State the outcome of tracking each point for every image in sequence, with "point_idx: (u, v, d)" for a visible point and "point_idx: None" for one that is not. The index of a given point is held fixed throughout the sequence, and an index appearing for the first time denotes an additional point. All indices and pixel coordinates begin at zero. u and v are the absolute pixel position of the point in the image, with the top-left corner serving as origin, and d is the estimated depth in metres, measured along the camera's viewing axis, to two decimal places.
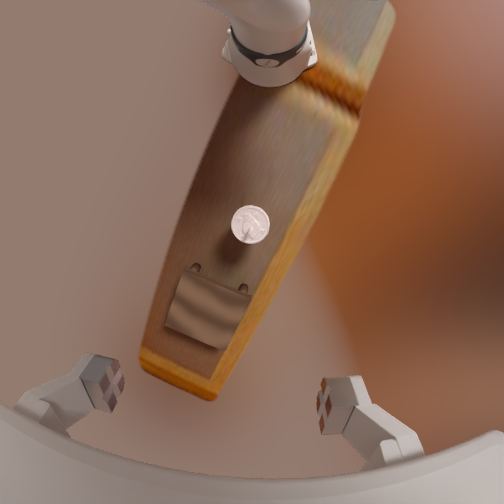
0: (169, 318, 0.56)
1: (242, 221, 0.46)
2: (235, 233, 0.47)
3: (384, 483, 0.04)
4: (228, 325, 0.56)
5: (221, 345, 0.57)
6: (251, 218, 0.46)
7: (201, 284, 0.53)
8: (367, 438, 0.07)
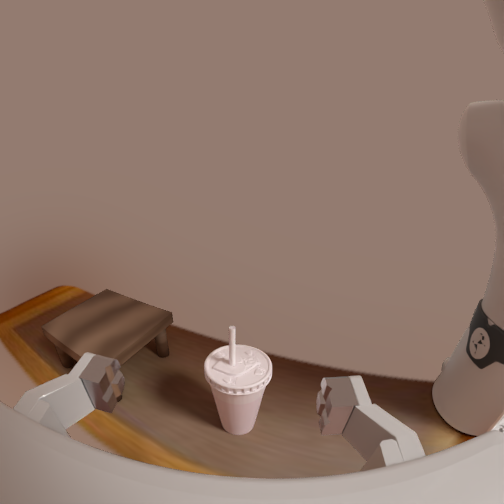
0: (113, 294, 0.41)
1: (245, 356, 0.26)
2: (224, 347, 0.27)
3: (384, 483, 0.04)
4: (73, 338, 0.29)
5: (50, 325, 0.30)
6: (251, 364, 0.24)
7: (145, 324, 0.34)
8: (367, 438, 0.07)
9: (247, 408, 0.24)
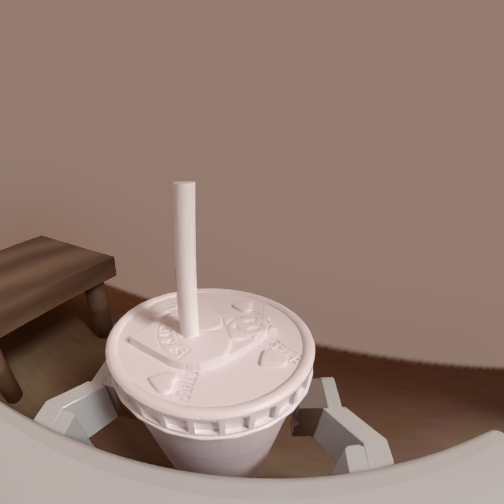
0: (45, 239, 0.24)
1: (232, 313, 0.09)
2: None
3: (384, 483, 0.04)
4: None
5: None
6: (249, 335, 0.08)
7: (65, 271, 0.17)
8: (336, 442, 0.07)
9: (238, 465, 0.07)
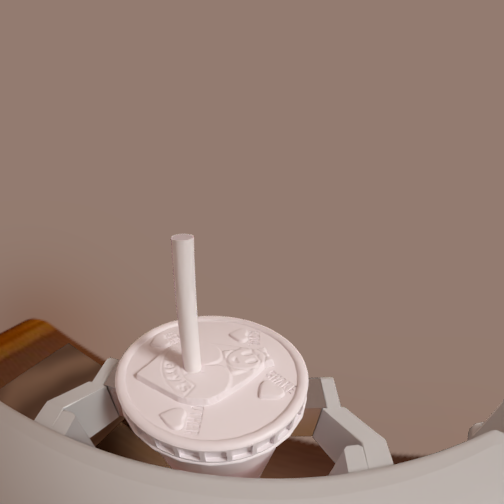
0: (74, 352, 0.29)
1: (229, 344, 0.10)
2: (177, 323, 0.11)
3: (384, 483, 0.04)
4: None
5: (3, 393, 0.19)
6: (248, 368, 0.08)
7: None
8: (335, 442, 0.07)
9: None
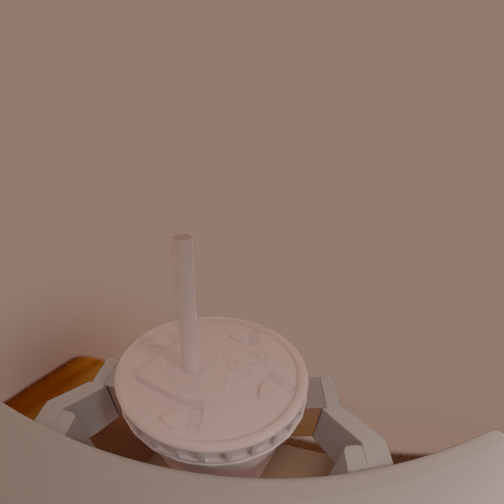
0: None
1: (229, 344, 0.10)
2: (177, 324, 0.11)
3: (384, 483, 0.04)
4: None
5: None
6: (248, 369, 0.08)
7: None
8: (335, 442, 0.07)
9: None
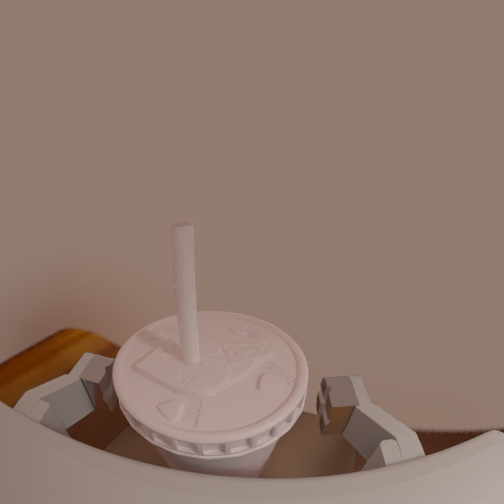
0: None
1: (229, 337, 0.10)
2: (176, 318, 0.11)
3: (384, 483, 0.04)
4: None
5: None
6: (247, 361, 0.08)
7: (332, 470, 0.12)
8: (367, 438, 0.07)
9: (240, 475, 0.08)
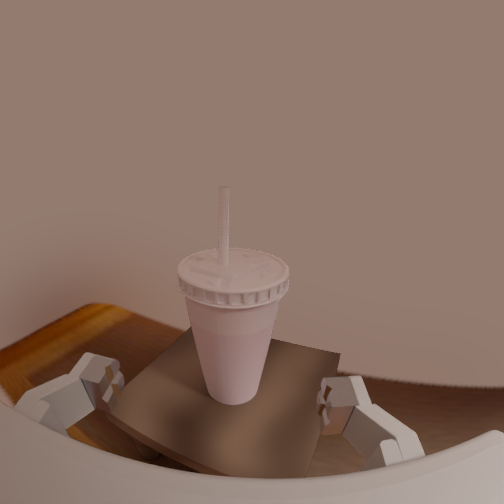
0: None
1: (243, 257, 0.17)
2: (210, 250, 0.18)
3: (384, 483, 0.04)
4: (193, 435, 0.14)
5: (121, 405, 0.16)
6: (255, 264, 0.16)
7: (317, 382, 0.20)
8: (367, 438, 0.07)
9: (250, 347, 0.15)
